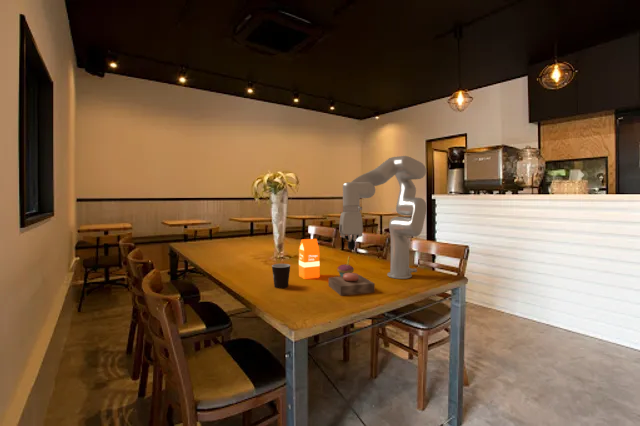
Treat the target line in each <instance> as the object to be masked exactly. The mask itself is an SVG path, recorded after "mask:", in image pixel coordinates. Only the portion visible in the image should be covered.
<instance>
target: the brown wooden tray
mask: <svg viewBox="0 0 640 426" xmlns="http://www.w3.org/2000/svg"><path fill="white" fill-rule="evenodd" d="M375 285H376V284H375V282H373V281H371V280H369V279H367V278H366V277H364V276H362V275H360V274H358V280H356V281H346V280H344V279H343V276H334V277H333V276H331V277H328V287H329V288H331V289H332V290H333V291H335V292H336V293H337V294H338V295H340V296H350V295H352V296H353V295H359V294H360V295H361V294H371V293H373V294H374V293H375Z"/></svg>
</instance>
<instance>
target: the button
mask: <svg viewBox="0 0 640 426" xmlns="http://www.w3.org/2000/svg"><path fill="white" fill-rule="evenodd" d="M358 275H359V274H358V273H356V272H352V273H345V274H343V279H344V280H346V281H356V280H358Z"/></svg>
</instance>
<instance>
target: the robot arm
mask: <svg viewBox="0 0 640 426" xmlns="http://www.w3.org/2000/svg"><path fill="white" fill-rule="evenodd" d="M426 173H427V169H426V166H425V164H424V163H423V162H421V161H419V160H417V159H416V158H413V157H411V156H408V155H401V156H398V155H397V156H392V157H391V156H390V157H389V158H387V159H386V160H385V161H383V162H382V163H380V165H379V166H377V167H375V168H374V169H371V170H369V171H368V172H365V173H363V174H361V175H359V176H357V177H356V178H354V179H353V180H352V181H350V182H349V181H348V182H344V183H343V184H342V212H340V217H339V229H338V231H339V237H340V238H343V239H345V240H346V241H347V248H348V250H350V251H355V248H356V241H357V239H358V238H360V237H363V231H364V230H363V229H364V226H363V225H364V224H363V223H364V222H363V216H362V213H361V210H363V206H360V199H370V198H372V197H373V196H374V195H375V194H376V187H377V186H380V185H384V184H385V183H387V182H388V181H390V180H391V179H392V178H393V177H395V178H396V180H397V182H398V184H399V193H398V196H397V197H398V198H397V201H396V206H395V212H396V213H397V214H398V215H402V216H395V217H392V218H391V219H390V220H389V222H388V230H389V234H390V271H389V272H387V274H386V275H387V276H388V277H389V278H391V279H399V280H405V279H411V278H413V277H412V276H413V275H412V273H417V272H418V269H417V268H412V267H410V241H409V238H408V237H419V236H420V235H421V233H422V231H423V227H424V223H425V219H426V215H427V202H426V201H425V199H424V198H423V197H416V194H417V188H416V185H415V183H414V182H413V180H421V179H423V178H424V177H425V175H426ZM406 216H407V217H406ZM408 216H410V217H408ZM407 236H408V237H407Z"/></svg>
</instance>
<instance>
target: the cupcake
mask: <svg viewBox="0 0 640 426" xmlns="http://www.w3.org/2000/svg"><path fill="white" fill-rule="evenodd" d="M349 263H350V255H349V256H348V257H347V263H346V264H341V265H339V266H338V267H337V269H336V271H337V272H338V273H339V277H341V276H343V274H345V273H354V269H355V268H354V267H353V266H352V265H351V264H349Z"/></svg>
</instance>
